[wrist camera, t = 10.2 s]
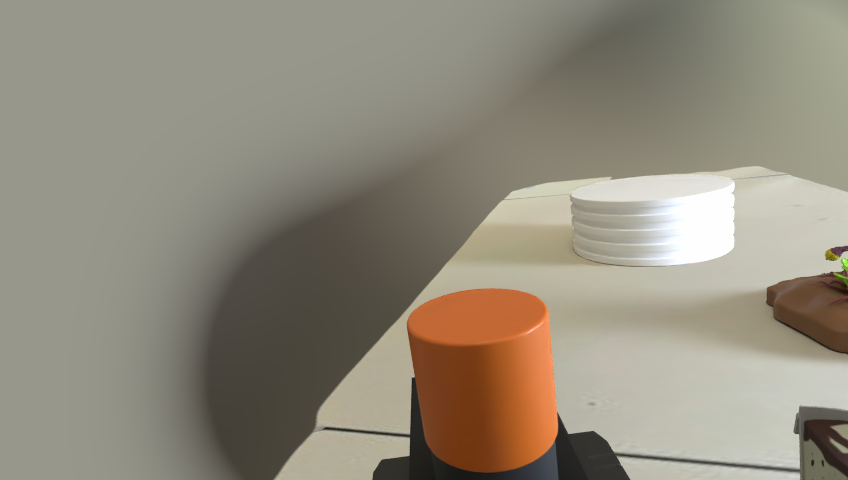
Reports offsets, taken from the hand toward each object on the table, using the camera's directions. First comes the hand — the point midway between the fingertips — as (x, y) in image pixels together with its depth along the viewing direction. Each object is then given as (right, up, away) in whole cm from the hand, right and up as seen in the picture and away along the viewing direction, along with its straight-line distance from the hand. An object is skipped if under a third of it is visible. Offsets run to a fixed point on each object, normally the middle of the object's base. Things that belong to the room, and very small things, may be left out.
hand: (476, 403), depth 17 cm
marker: (+1, -8, -4) cm, 9 cm away
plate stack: (+42, +5, +76) cm, 87 cm away
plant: (+49, -3, +35) cm, 61 cm away
